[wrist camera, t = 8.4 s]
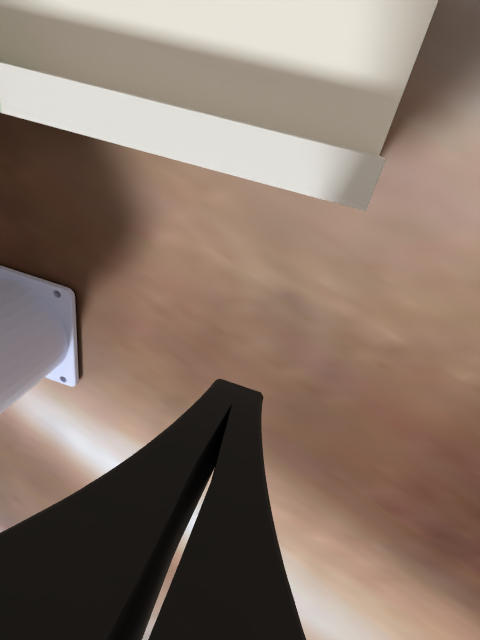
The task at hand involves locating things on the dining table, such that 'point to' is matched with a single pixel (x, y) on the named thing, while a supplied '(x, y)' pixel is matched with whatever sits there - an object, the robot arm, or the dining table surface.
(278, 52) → the tray
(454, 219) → the dining table surface
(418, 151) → the dining table surface
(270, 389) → the dining table surface
